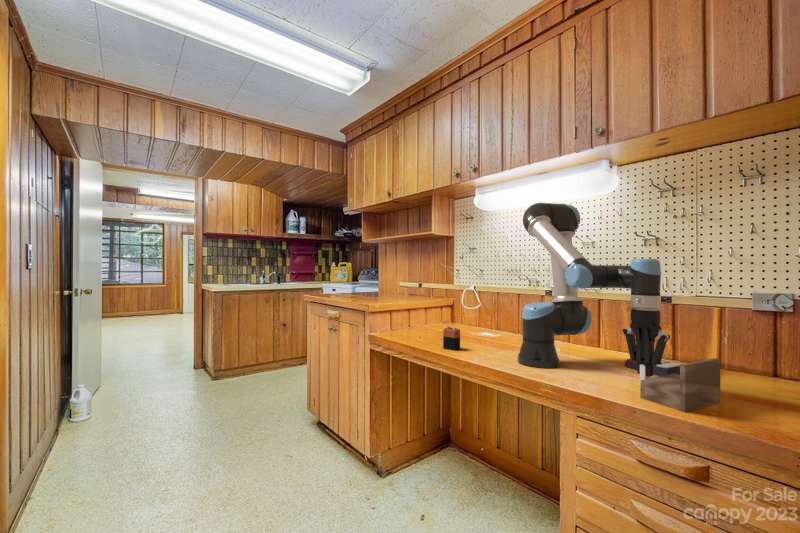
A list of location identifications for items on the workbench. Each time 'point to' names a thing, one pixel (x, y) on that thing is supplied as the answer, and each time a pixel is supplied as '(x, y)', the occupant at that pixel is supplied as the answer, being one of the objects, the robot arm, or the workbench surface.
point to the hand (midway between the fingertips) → (644, 385)
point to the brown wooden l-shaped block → (685, 386)
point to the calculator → (658, 367)
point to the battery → (451, 338)
